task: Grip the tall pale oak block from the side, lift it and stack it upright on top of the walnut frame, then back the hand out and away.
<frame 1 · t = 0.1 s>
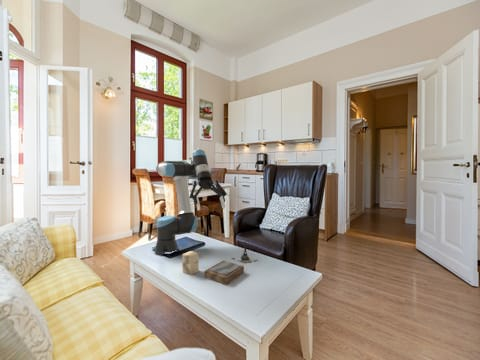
hand: (211, 208, 121), 36 cm above the table, fingers open, 13 cm apart
oak block: (190, 271, 128), on the table
walnut frame: (224, 275, 125), on the table
eiffel tower figurine: (244, 260, 146), on the table
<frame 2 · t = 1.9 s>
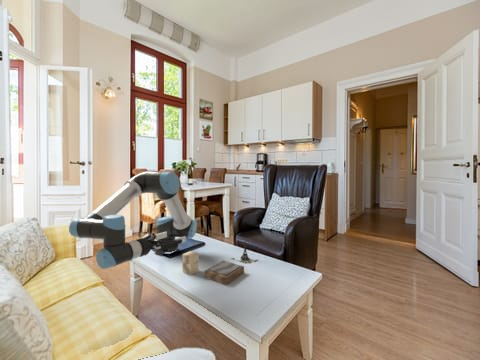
hand: (175, 236, 118), 22 cm above the table, fingers open, 13 cm apart
nothing on the table moved.
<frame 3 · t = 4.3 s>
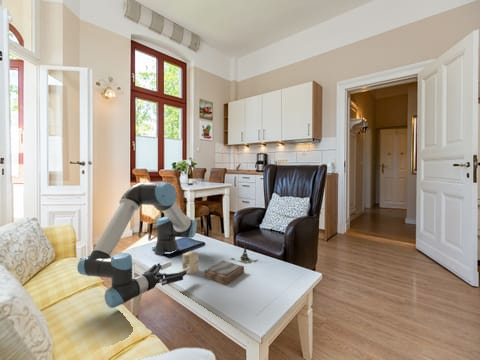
hand: (180, 266, 121), 6 cm above the table, fingers open, 13 cm apart
nothing on the table moved.
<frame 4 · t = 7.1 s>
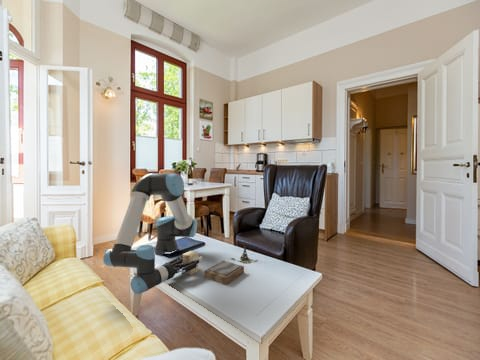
hand: (197, 257, 132), 6 cm above the table, fingers closed on oak block, 6 cm apart
oak block: (190, 271, 128), on the table, touching gripper
everything else where it was.
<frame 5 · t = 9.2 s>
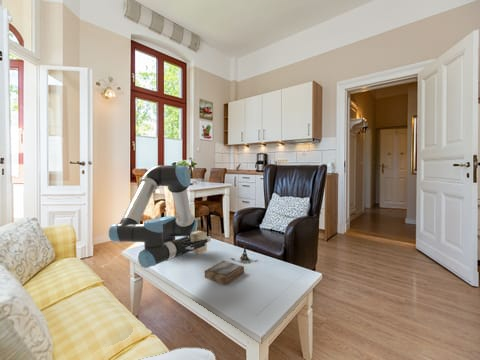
hand: (205, 237, 129), 18 cm above the table, fingers closed on oak block, 6 cm apart
oak block: (198, 251, 125), point 12 cm above the table, touching gripper
everything else where it was.
when the fingers open (11 cm above the table, at t = 11.8 s): oak block drops 1 cm, resting on walnut frame.
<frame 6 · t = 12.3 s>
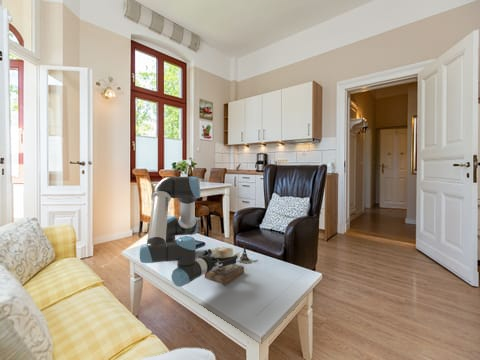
hand: (228, 251, 127), 12 cm above the table, fingers open, 12 cm apart
oak block: (224, 267, 124), point 4 cm above the table, touching walnut frame
everything else where it was.
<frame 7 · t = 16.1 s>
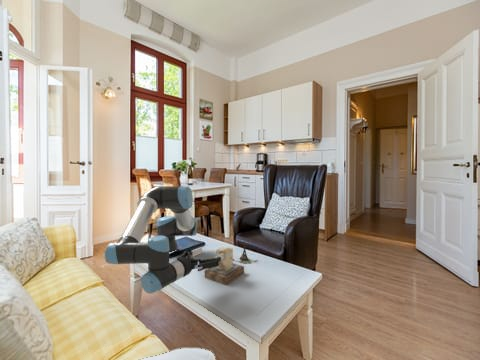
hand: (211, 252, 114), 16 cm above the table, fingers open, 13 cm apart
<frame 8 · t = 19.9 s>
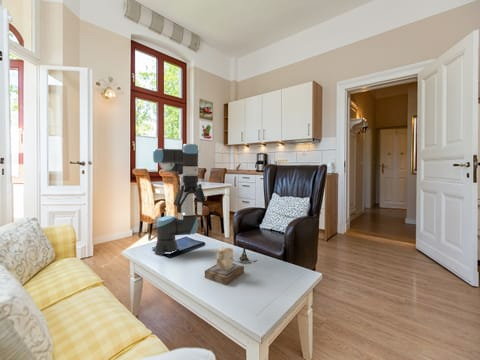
hand: (190, 216, 120), 32 cm above the table, fingers open, 13 cm apart
at the end: oak block inside the target area on the walnut frame (0.1 cm from its centre), point 4.0 cm above the walnut frame's base; oak block tilted 0°; the gripper is holding nothing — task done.
